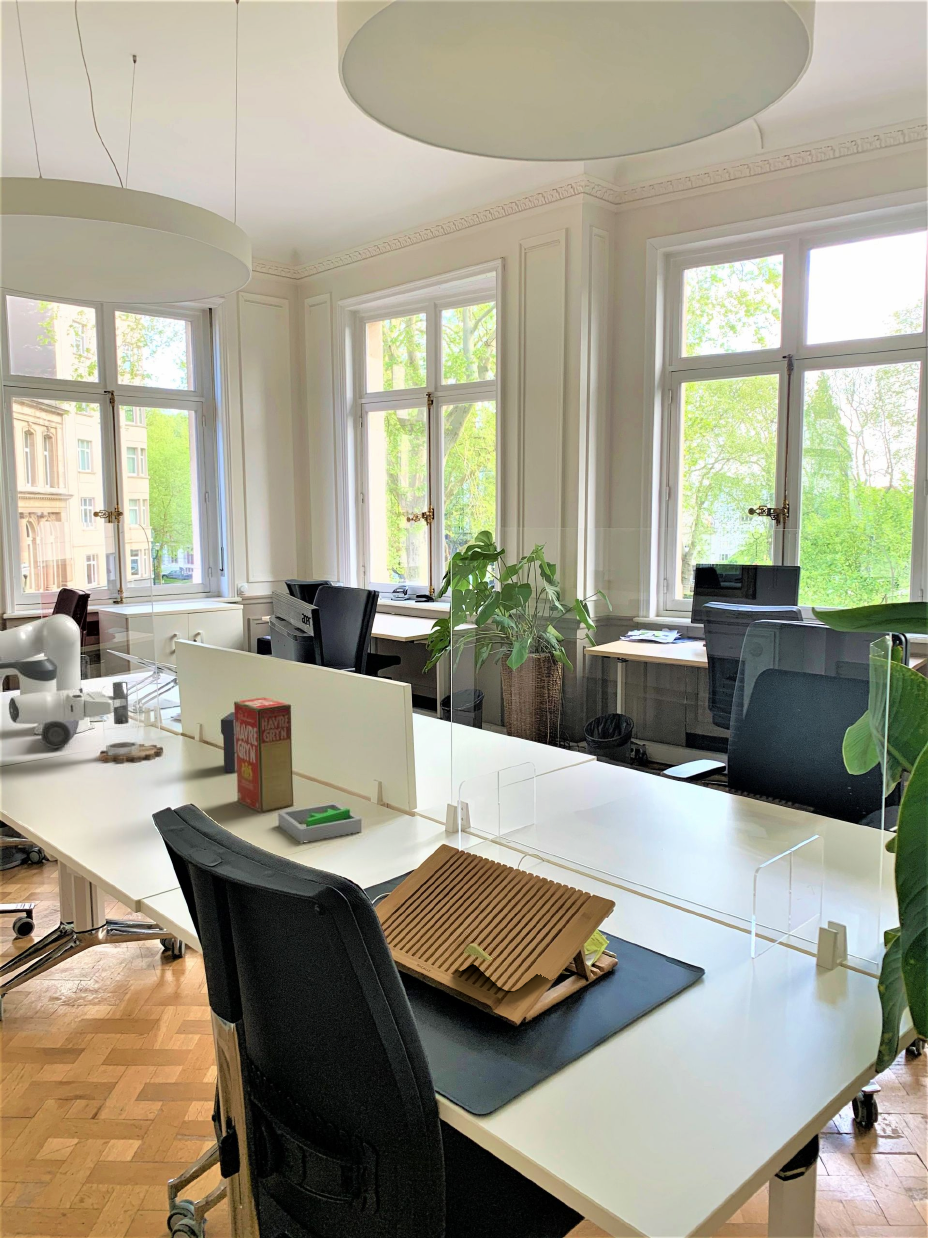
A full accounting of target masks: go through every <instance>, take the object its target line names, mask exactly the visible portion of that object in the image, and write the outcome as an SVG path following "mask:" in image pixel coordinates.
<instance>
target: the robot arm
mask: <svg viewBox="0 0 928 1238" xmlns="http://www.w3.org/2000/svg"><path fill="white" fill-rule="evenodd" d="M41 654H43V656H42V655H41ZM40 655H41V656H40ZM81 673H82V672H81V630H80V626H79V625H78V624H77V622H76V621H75V620H74V619H73V618H72V616H70V615H67V614H64V613H57V614H53V615H50V616H47V617H43V618H40V619H37V620H34V621H31V622H28V623H25V624H21V625H19V626H16V627H13V628H9V629H5V630H2V631H0V691H1V690H2V685H3V682H4V679H5V677H6V676H11V675H12V676H13V675H17V676H18V681H19V695H16V696H11V697H10V699H9V703H8V713H9V718H10V719H11V721H12V722H13V723H14V724H19V725H22V724H24V725H25V724H26V725H36V727H35V729H34V731H33V734H34V733H36V734H35V735H41V733H42V729H43V726H44V725H45V723H48V722H50V721H71V720H77V721H79V725H78V728H77V731H76V733H82V732H86V731H88V730H92V729H95V728H96V724H94V723H93V722H92V723H91V722H90V718H93V717H94V718H95V717H99V716H100V717H102V716H107V715H111V714H114V707H118V706H123V705H126V700H125V699H118V700H113V695H106V694H104V693H103V692H102V691H89V692H84V690H83V688H82V679H81V678H82V677H81V675H82V674H81ZM76 733H75V734H76Z"/></svg>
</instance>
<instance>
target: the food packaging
mask: <svg viewBox="0 0 928 1238" xmlns="http://www.w3.org/2000/svg"><path fill="white" fill-rule="evenodd" d="M233 705H234V708H233V710H234V711H233V712H235V735H236V761H237V771H236V786H237V788H236V789H237V790H236V791H237V799H236V801H237V802H238V803H241V804H242V805H244V806H247V807H249V808H251V809H253V810H254V811H257V812H259V813H266V812H272V811H276V810H280V809H285V808H291V807H293V806H294V782H293V748H292V747H293V743H292V705H291V704H290V703H287V702H286V703H285V702H282V701H278V700H273V699H271V698H267V697H256V698H250V699H242V700H237V701H234V702H233Z"/></svg>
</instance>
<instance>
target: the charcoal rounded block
mask: <svg viewBox="0 0 928 1238" xmlns="http://www.w3.org/2000/svg"><path fill="white" fill-rule="evenodd" d="M220 734H221V735H222V736H223V737H222V738H223V739H222V740H223V743H222V744H223V772H224V773H227V774H234V773H237V761H236V735H235V711H232V712H230V713H228V714H227V715H225V716H224V717H222V718H221V719H220Z"/></svg>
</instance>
